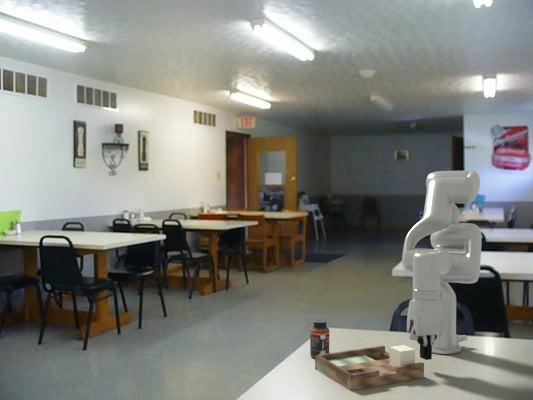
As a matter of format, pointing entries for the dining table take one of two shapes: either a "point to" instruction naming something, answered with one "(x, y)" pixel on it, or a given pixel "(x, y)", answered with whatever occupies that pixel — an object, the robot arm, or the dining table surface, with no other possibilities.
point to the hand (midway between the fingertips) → (425, 358)
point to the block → (401, 355)
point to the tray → (365, 368)
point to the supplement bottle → (319, 338)
